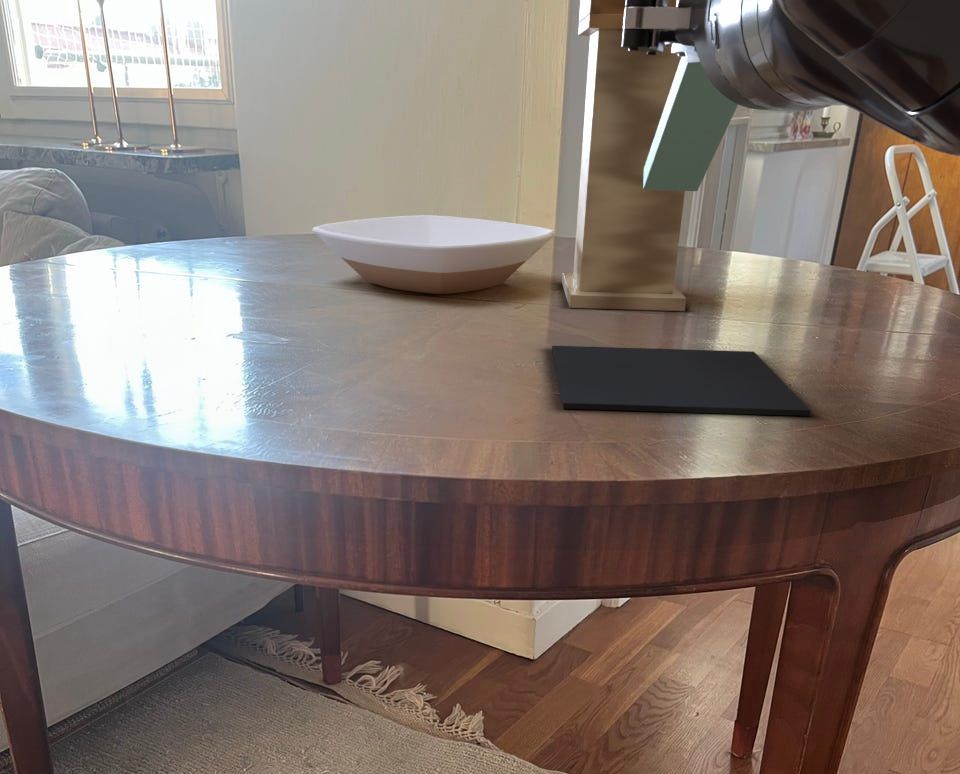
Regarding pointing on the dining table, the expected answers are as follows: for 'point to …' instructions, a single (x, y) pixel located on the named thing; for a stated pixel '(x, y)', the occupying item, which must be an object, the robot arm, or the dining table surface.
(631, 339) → the dining table surface
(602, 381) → the mat
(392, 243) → the bowl
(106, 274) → the dining table surface
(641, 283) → the stand
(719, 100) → the block
